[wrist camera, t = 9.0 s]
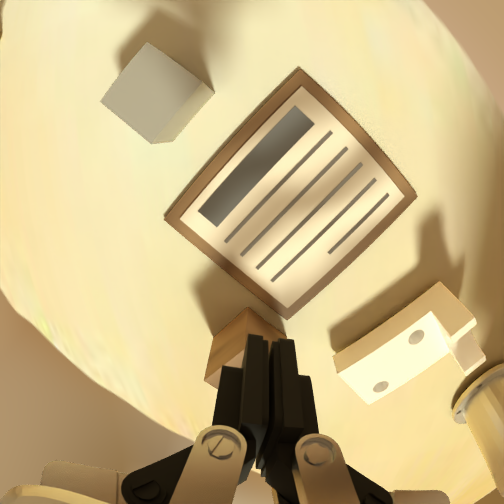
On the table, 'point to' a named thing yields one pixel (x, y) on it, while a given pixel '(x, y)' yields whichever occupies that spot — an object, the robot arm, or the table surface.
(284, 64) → the table surface
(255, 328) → the walnut block
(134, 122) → the block
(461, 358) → the bracket
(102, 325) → the table surface
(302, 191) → the brown white flat panel
